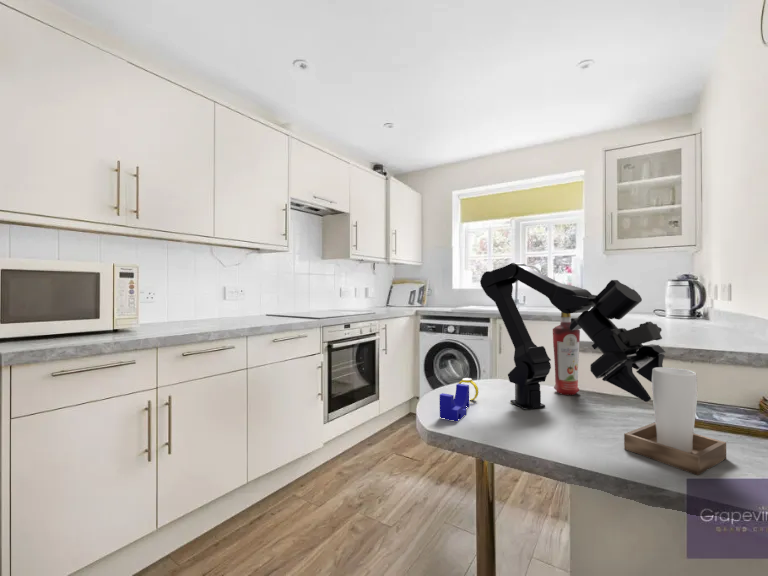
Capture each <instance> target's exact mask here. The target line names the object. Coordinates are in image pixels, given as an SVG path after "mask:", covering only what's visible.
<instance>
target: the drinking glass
mask: <svg viewBox="0 0 768 576" xmlns="http://www.w3.org/2000/svg"><path fill="white" fill-rule="evenodd" d="M697 378H698V377H697V373H696V372H695V371H692V370H690V369H685V368H678V367H669V366H668V367H666V366H663V367H656V368H653V369H652V382H651V392H652V393H651V394H652V402H653V403H652V404H653V411H654V413H653V414H654V420H655V423H656V433H657V443H660V444H663V445H666V446H669V447H672V448H675V449H679V450H682V451H685V452H688V453H692V451H693V433H694V432H695V423H696V420H695V419H696V414H697V413H696V412H697V402H698V379H697Z"/></svg>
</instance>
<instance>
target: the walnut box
mask: <svg viewBox="0 0 768 576" xmlns="http://www.w3.org/2000/svg"><path fill="white" fill-rule="evenodd" d="M623 437H624V438H623V442H624V443H623V447H624V448H623V449H624V450H626V451H629V452H630V453H631V452H632V453H635V454H637V455H640V456H643V457H646V458H648V459H651V460H654V461H657V462H659V463H662V464H666V465H669V466H670V467H673V468H676V469H679V470H682V471H684V472H688V473H690V474H694V475H696V476H699V475H701V474H703V473H705V472H706V471H708V470H710V469H711V468H713V467H715V466H716V465H718V464H720V463H722V462H723V460H724V459H725V460H727V442H725V441H723V440H718V439H715V438H713V437H712V438H711V437H708V436H705V435H701V434H697V433H694V432H693V451H692V453H688V452H685V451H682V450H679V449H675V448H672V447H669V446H666V445H663V444H660V443H657V433H656V423H655V422H651V423H649V424H647V425H644V426H641V427H638V428H636V429H633V430H631V431H627V432H625V433H624V434H623ZM725 460H724V461H725ZM721 461H722V462H721Z"/></svg>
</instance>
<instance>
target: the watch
mask: <svg viewBox="0 0 768 576" xmlns="http://www.w3.org/2000/svg"><path fill="white" fill-rule="evenodd" d="M462 383H464V384H465V383H470V384H471V385H472V386H473V388H474V389H475V390H474V391H475V395H474V397H473V398H470V399H471V400H473V401H474V400H475V399H477V397H478V395H479V387H478V385H477V383H476V382H474V380H473V379H472V378H471V377H464V378H462V379H461V380H460V381H459V382H458V383H457V384H462Z"/></svg>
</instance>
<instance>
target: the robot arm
mask: <svg viewBox="0 0 768 576" xmlns="http://www.w3.org/2000/svg"><path fill="white" fill-rule="evenodd" d="M517 282H520V283H522V284H524V285H526V286H527V287H529V288H531V289H533V290H535V291H537V292H538V293H539V294H541V295H543V296H545V297H546V298H547V299H548V300H549V302H550V303H551V304H552V305H553V306H554V307H555V308H556V309H558V310H559V311H560V312H563V313H566V314H579V313H580V314H579V315H578V317H571V324H570V330H577V329H579V330H582V331H583V332H584V333H585V335H586V336H587V337H588V338H589V339H590V340H591V342H592V343H593V344H592V345H591V347H592V348H593V350H599V351H600V352H601V353H602V355H601V356H599V357H597V359H595V361H593V362H592V363H590V367H589V368H590V370H589V371H590V372H591V373H592V375H593V376H594V377H595V379H597V380H598V379H601V378H602V379H601V380H602V381H603V382H607V383H609V384H611V385H614V386H615V387H618V388H620V389H621V390H624V392H625V391H626V392H627V393H628V394H631V395H632V396H634V397H636V398H638V399H639V400H642V401H643V402H646V403H648V402H650V401H651V400H652V397H651V396H650V394H649V393H648V391H647V390H646V389H645V387H644V386H643V385H642V383H641V382H640V380H639V379H638V378H637V376H636V375H635V374H634V372H633V369H635V370H636V373H637V374H638V375H640V376H642V377H643V378H644V379H646V380H648V381H649V382H650V383H652V369H653V368H656V367H664V366H663V363H664V359H665V358H666V356H665V354H666V350H664V348H662V347H661V346H660V345H659V344H655V343H654V344H653V343H652V344H645V343H649V342H652V341H660V340H662V339H663V337H662V335H661V332H662V331H663V329H662V328H661V327H659V325H658V324H657V323H653V322H652V321H646V322H645V323H640V324H639V326H637V327H634V328H631V329H627V328H624V327H621V328H619V327H618V326H616V324H614V322H613V321H612V320H617V321H618V320H622V319H623V318H624V317H625V316H626V315H627V314H628V313H630V312H631V311H632V310H633V309H634V308H636V307H637V305H639V304H640V303H642V296H641V295H640V294H639V293H638V292H637V291H636V290H635V289H634V288H633V289H632V288H631V287H629V286H628V285H626V284H624V283H621V282H620V281H619V280H618V279H611V280H610V281H609V282H608V283H607V284H606V286H605V287H604V288H603V289H602V290H601V291H600V292H598V294H592V293H591V291H589V290H587V289H586V288H585V289H584V288H582V287H578V286H575V285H571V284H566V283H561V282H559V281H556V280H555V279H553V278H551V277H549V276H547V275H545V274H543V273H541V272H540V271H537V270H535V269H534V268H531V267H529V266H528V265H527V264H525V263H523V262H511V263H509V264H507V265H504V266H503V267H502V266H501V267H499V268H497V269H493V270H490V271H489V270H488V271H485V272H483V274H482V275H481V277H480V280H479V284H480V287H481V288H482V291H483V292H484V294H485V295H486V296H487V297H488V298H490V299H491V301H493V302H494V304H495V306H496V308H497V310H498V313H499V315H500V317H501V319H502V322H503V324H504V327H505V328H506V331H507V333H508V335H509V337H510V338H509V339H510V340H511V343H512V345H513V347H514V352H513V353H514V354H513V361H514V365H515V367H514V368H513V369H512V370H510V371H509V372H508V373H507V377H508V381H509V383H511V384H514V395H515V396H514V398H515V399H511V400H510V403H511V404H513V405H516V406H517V407H519V408H520V409H521V408H522V409H524V410H529V409H531V410H532V409H539V408H546V404H544V403H542V402H541V401H542V398H541V397H542V395H541V394H542V393H541V392H542V391H541V384H540V383H542V382H543V383H544V382H546V379H547V377H548V376H549V374H550V371H551V369H552V364H551V361H552V359H551V358H550V357H549V355H548V352H547V351H546V348H545V346H544V345H540V346H537V344H535V342H533V340H532V337H531V335H530V333H529V331H528V329H527V327H526V324H525V322H524V320H523V318H522V316H521V313H520V311H519V309H518V307H517V304H516V302H515V300H514V297H513V290H514V287H513V286H514V285H513V284H515V283H517ZM643 344H645V345H643Z"/></svg>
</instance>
